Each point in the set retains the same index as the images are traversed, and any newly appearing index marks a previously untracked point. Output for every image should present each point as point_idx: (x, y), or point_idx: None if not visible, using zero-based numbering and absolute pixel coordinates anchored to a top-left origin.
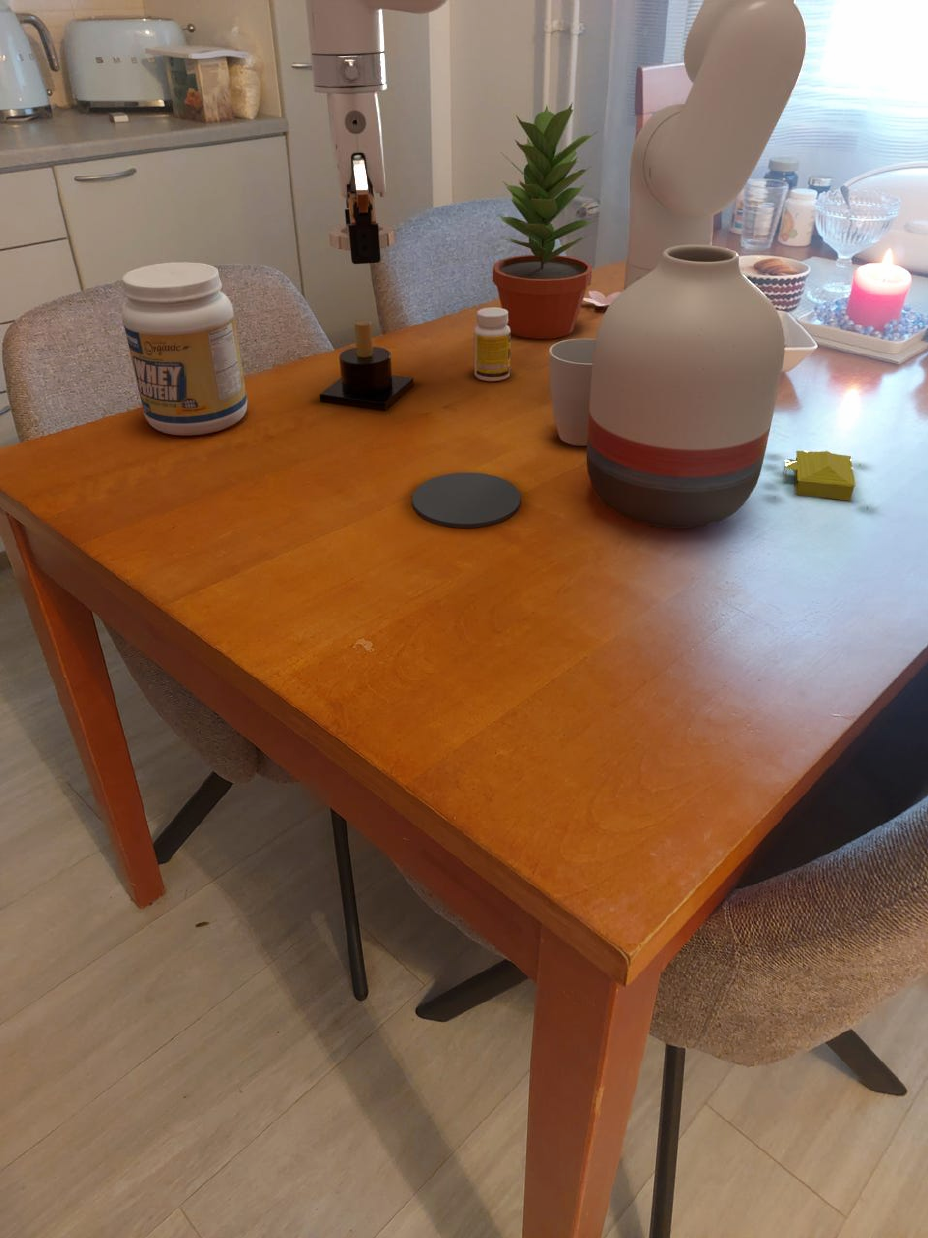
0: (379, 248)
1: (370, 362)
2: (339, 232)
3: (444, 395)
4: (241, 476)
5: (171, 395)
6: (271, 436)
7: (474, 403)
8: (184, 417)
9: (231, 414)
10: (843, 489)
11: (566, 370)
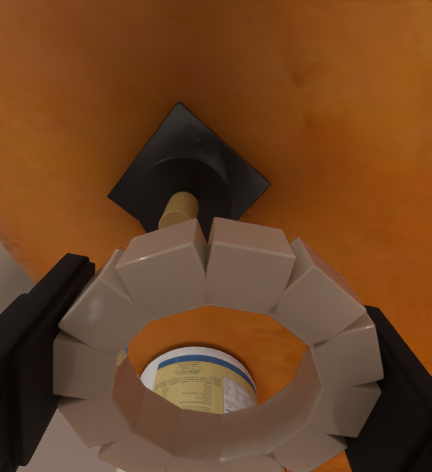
0: (400, 337)
1: (227, 207)
2: (225, 468)
3: (246, 61)
4: None
5: None
6: (283, 329)
7: (306, 17)
8: None
9: (246, 374)
10: None
11: None
